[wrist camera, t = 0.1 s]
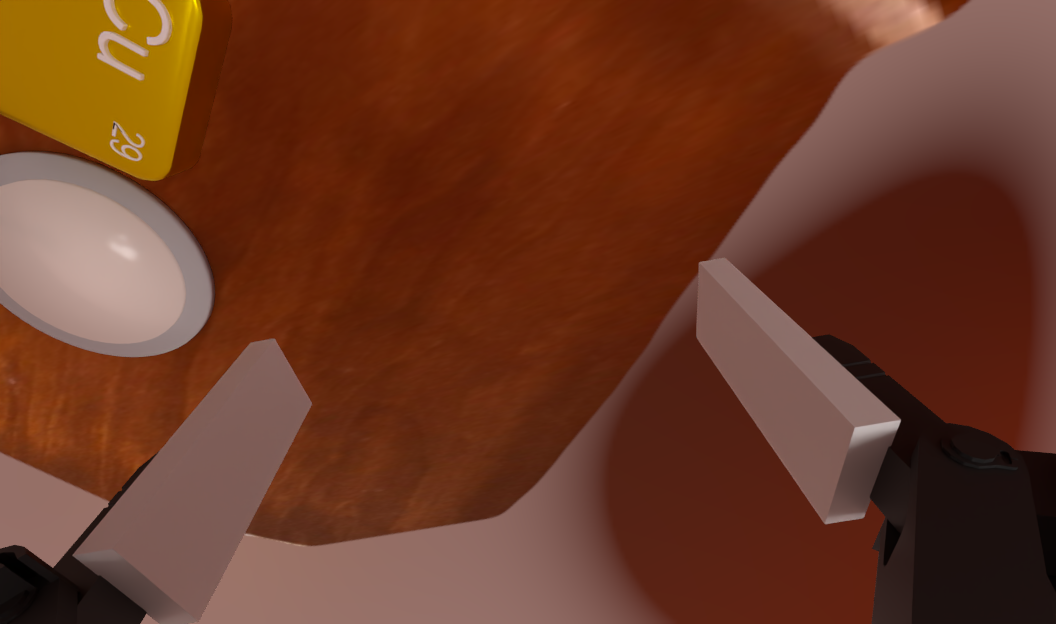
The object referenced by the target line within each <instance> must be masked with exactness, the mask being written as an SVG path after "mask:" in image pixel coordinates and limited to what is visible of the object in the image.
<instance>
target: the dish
mask: <svg viewBox="0 0 1056 624" xmlns="http://www.w3.org/2000/svg"><path fill="white" fill-rule="evenodd" d="M214 299H215V285H214V279H213V274H212V270H211V267H210V265H209V262H208V259H207V257H206V255H205V253H204V251H203V249H202V247H201V246H200V244H199V242H198V241H197V239H196V238H195V236H194V235H193V233H192V232H191V231H190V229H189V228H188V227H187V226H186V225H185V224H184V222H183V221H182V220H181V219H180V218H179V217H178V216H177V215H176V214H175V213H174V212H173V211H172V210H171V209H170V208H169V207H168V206H167V205H166V204H165V203H163V202H162V201H161V200H160V199H159V198H157V197H156V196H155V195H154V194H153V193H151V192H150V191H148V190H147V189H145V188H144V187H142V186H141V185H139V184H138V183H136V182H135V181H133V180H131V179H129V178H128V177H126V176H124V175H122V174H121V173H119V172H116V171H114V170H112V169H110V168H108V167H105V166H103V165H101V164H98V163H95V162H93V161H90V160H87V159H84V158H80V157H76V156H72V155H68V154H64V153H57V152H49V151H23V152H15V153H9V154H4V155H0V303H1V304H2V305H3V306H5V307H6V308H7V309H8V310H9V311H11V312H12V313H13V314H15V315H16V316H18V317H19V318H20V319H22V320H23V321H25V322H26V323H28V324H30V325H31V326H33V327H35V328H36V329H38V330H40V331H42V332H44V333H46V334H48V335H50V336H52V337H54V338H56V339H58V340H61V341H63V342H65V343H68V344H70V345H73V346H76V347H79V348H82V349H85V350H89V351H93V352H97V353H101V354H107V355H113V356H123V357H145V356H153V355H158V354H162V353H166V352H169V351H172V350H174V349H177V348H179V347H180V346H182V345H184V344H185V343H187V342H188V341H189V340H190V339H192V338H193V337H194V336H195V335H196V334H197V333H198V332H199V331H200V330H201V329H202V328H203V327H204V325H205V324H206V323H207V321H208V319H209V317H210V315H211V313H212V309H213V306H214Z"/></svg>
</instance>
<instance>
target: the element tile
mask: <svg viewBox="0 0 1056 624" xmlns="http://www.w3.org/2000/svg"><path fill="white" fill-rule="evenodd" d="M231 29H232V13H231V7H230V4H229V2H228V0H0V114H1V115H3V116H5V117H7V118H10V119H12V120H14V121H16V122H18V123H20V124H22V125H25V126H27V127H29V128H31V129H33V130H35V131H37V132H40V133H42V134H44V135H46V136H48V137H50V138H53V139H55V140H57V141H59V142H61V143H63V144H65V145H68V146H70V147H72V148H74V149H76V150H78V151H81V152H83V153H85V154H87V155H89V156H91V157H93V158H96V159H98V160H100V161H102V162H104V163H106V164H108V165H111V166H113V167H115V168H117V169H119V170H121V171H124V172H126V173H128V174H130V175H132V176H134V177H136V178H140V179H143V180H150V181H158V180H161V179H165V178H167V177H170V176H172V175H175V174H178V173H180V172H183V171H185V170H188V169H190V168H192V167H193V166H194V165H195V164H196V163H197V161H198V159H199V157H200V154H201V150H202V146H203V142H204V138H205V134H206V129H207V125H208V121H209V117H210V113H211V109H212V105H213V101H214V97H215V93H216V89H217V85H218V81H219V77H220V73H221V69H222V65H223V61H224V57H225V53H226V49H227V45H228V41H229V37H230V33H231Z"/></svg>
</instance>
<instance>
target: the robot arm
mask: <svg viewBox="0 0 1056 624" xmlns="http://www.w3.org/2000/svg"><path fill="white" fill-rule="evenodd" d="M696 338H697V339H698V341H699V342H700V344H701V345H702V346H703V348H704V349H705V351H706V352H707V354H708V355H709V356H710V358H711V359H712V361H713V362H714V364H715V365H716V367H717V368H718V370H719V371H720V372H721V374H722V375H723V377H724V378H725V380H726V381H727V383H728V384H729V386H730V387H731V388H732V390H733V391H734V393H735V394H736V396H737V397H738V399H739V400H740V402H741V403H742V404H743V406H744V407H745V409H746V410H747V412H748V413H749V414H750V416H751V417H752V419H753V420H754V422H755V423H756V425H757V426H758V428H759V429H760V431H761V432H762V434H763V435H764V436H765V438H766V439H767V441H768V442H769V443H770V445H771V446H772V448H773V449H774V451H775V452H776V454H777V455H778V457H779V458H780V460H781V461H782V463H783V464H784V465H785V467H786V468H787V470H788V471H789V473H790V474H791V476H792V477H793V479H794V480H795V481H796V483H797V484H798V486H799V487H800V488H801V490H802V492H803V493H804V494H805V496H806V497H807V499H808V500H809V502H810V503H811V505H812V506H813V507H814V509H815V510H816V512H817V513H818V515H819V516H820V517H821V519H822V521H823V522H824V523H825V524H829V523H835V522H841V521H848V520H854V519H861V518H864V516H865V513H866V510H867V508H868V505H869V503H870V500H872V501H873V502H874V503H875V505H876V506H877V507H878V508H879V509H880V511H881V512H882V513H883V514H884V515H885V520H884V522H883V524H882V527H881V529H880V532H879V534H878V536H877V538H876V541H875V543H874V546H873V548H872V549H875V550H877V551H879V557H878V567H877V578H876V587H875V597H874V608H873V617H872V624H1056V454H1053V453H1042V452H1030V451H1019V450H1014V449H1013V448H1012V447H1011V446H1010V445H1008V444H1007V443H1005V442H1004V441H1002V440H1000V439H998V438H996V437H995V436H993V435H991V434H989V433H987V432H984V431H981V430H978V429H975V428H972V427H969V426H963V425H958V424H951V423H945V422H944V421H943V420H941V419H940V418H939V417H938V416H937V415H935V414H934V413H933V412H932V411H931V410H929V409H928V408H927V407H926V406H925V405H923V404H922V403H921V402H920V401H919V400H918V399H916V398H915V397H914V396H912V394H910V393H909V392H908V391H907V390H906V389H904V388H903V387H902V386H901V385H900V384H898V383H897V382H896V381H895V380H894V379H892V378H891V377H890V376H886V375H885V372H884V371H883V370H882V369H880V368H879V367H878V366H877V365H876V364H874V363H871V362H870V359H868V358H867V357H866V356H865V355H864V354H862V353H861V352H860V351H859V350H858V349H856V348H855V347H854V346H853V345H851V344H849V343H846V342H844V341H842V340H840V339H838V338H836V337H834V336H831V335H823V336H817V337H810V336H809V335H808V334H807V333H806V332H805V331H804V330H803V329H802V328H801V327H800V326H798V325H797V324H796V323H795V322H794V321H793V320H792V319H791V318H790V317H789V316H788V315H787V314H785V313H784V312H783V311H782V310H781V309H780V308H779V307H778V306H777V305H776V304H774V303H773V302H772V301H771V300H770V299H769V298H768V297H767V296H766V295H765V294H764V293H763V292H761V291H760V290H759V289H758V288H757V287H756V286H755V285H754V284H753V283H752V282H751V281H750V280H748V279H747V278H746V277H745V276H744V275H743V274H742V273H741V272H740V271H739V270H738V269H736V268H735V267H734V266H733V265H732V264H731V263H730V262H729V261H728V260H727V259H726V258H720V259H715V260H709V261H704V262H699V277H698V305H697V331H696ZM311 405H312V403H311V401H310V399H309V397H308V396H307V394H306V392H305V390H304V389H303V387H302V385H301V384H300V382H299V380H298V378H297V377H296V375H295V373H294V371H293V370H292V368H291V366H290V365H289V363H288V361H287V359H286V358H285V356H284V354H283V352H282V351H281V349H280V347H279V346H278V344H277V342H276V340H275V339H269V340H263V341H257V342H252V343H250V344H249V345H248V346H247V348H246V349H245V350H244V351H243V352H242V354H241V355H240V356H239V357H238V358H237V359H236V361H235V362H234V363H233V364H232V365H231V367H230V368H229V369H228V370H227V371H226V373H225V374H224V375H223V376H222V377H221V379H220V380H219V381H218V382H217V383H216V385H215V386H214V387H213V388H212V389H211V390H210V392H209V393H208V394H207V395H206V396H205V398H204V399H203V400H202V401H201V402H200V404H199V405H198V406H197V407H196V408H195V410H194V411H193V412H192V413H191V414H190V416H189V417H188V418H187V419H186V420H185V421H184V423H183V424H182V425H181V426H180V427H179V429H178V430H177V431H176V432H175V433H174V435H173V436H172V437H171V438H170V439H169V441H168V442H167V443H166V444H165V445H164V447H163V448H162V449H161V450H160V451H159V452H158V453H157V454H155V455H154V456H153V457H152V458H150V459H149V460H148V461H147V462H146V463H144V464H143V465H142V466H141V467H139V468H138V469H137V471H136V472H135V473H134V474H133V475H132V476H131V478H130V479H129V480H128V481H127V482H126V483H125V485H124V486H123V487H122V491H119V492H118V493H117V494H116V495H115V496H114V497H113V499H112V500H111V501H110V502H109V503H108V505H109V506H108V507H107V508H104V509H103V510H102V511H101V513H100V514H99V515H98V516H97V517H96V519H95V520H94V521H93V522H92V523H91V524H90V526H89V527H88V528H87V529H86V530H85V531H84V533H83V534H82V535H81V536H80V537H79V538H78V540H77V541H76V542H75V543H74V544H73V546H72V547H71V548H70V549H69V550H68V551H67V553H66V554H65V555H64V556H63V557H62V558H61V560H60V561H59V562H58V563H57V564H56V565H55V566H54V568H52V567H51V566H49V565H48V564H46V563H45V562H44V561H42V560H41V559H40V558H38V557H37V556H36V555H34V554H33V553H32V552H30V551H29V550H28V549H26V548H25V547H22V546H17V545H13V546H9V547H5V548H2V549H0V624H140V623H141V621H142V620H143V618H144V617H145V615H146V613H147V614H148V615H149V616H150V617H152V618H153V619H154V620H156V621H157V622H158V623H160V624H188V623H194V622H199V620H200V618H201V616H202V614H203V612H204V610H205V609H206V607H207V605H208V603H209V601H210V599H211V596H212V595H213V593H214V591H215V589H216V588H217V586H218V584H219V582H220V580H221V578H222V576H223V574H224V572H225V570H226V568H227V566H228V564H229V562H230V561H231V559H232V557H233V555H234V553H235V551H236V549H237V547H238V545H239V543H240V541H241V540H242V538H243V536H244V534H245V532H246V530H247V528H248V526H249V524H250V522H251V520H252V518H253V516H254V515H255V513H256V511H257V509H258V507H259V505H260V503H261V501H262V499H263V497H264V495H265V493H266V492H267V490H268V488H269V486H270V484H271V482H272V480H273V478H274V476H275V474H276V472H277V470H278V468H279V467H280V465H281V463H282V461H283V459H284V457H285V455H286V453H287V451H288V449H289V447H290V445H291V444H292V442H293V440H294V438H295V436H296V434H297V432H298V430H299V428H300V426H301V424H302V422H303V420H304V419H305V417H306V415H307V413H308V411H309V409H310V407H311Z"/></svg>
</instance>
